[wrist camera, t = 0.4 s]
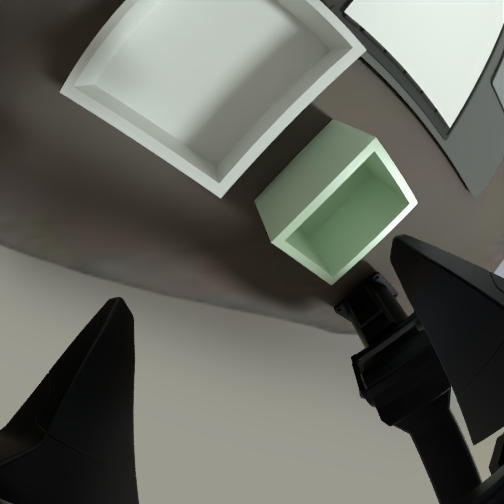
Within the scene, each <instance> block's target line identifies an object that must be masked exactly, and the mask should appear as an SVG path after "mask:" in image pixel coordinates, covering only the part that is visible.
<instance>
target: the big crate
mask: <svg viewBox="0 0 504 504" xmlns="http://www.w3.org/2000/svg"><path fill="white" fill-rule="evenodd" d="M365 51H367V50H366V49H365V47H364V46H363V45H362V44H361V43H360V42H359V40H358V39H357V38H356V37H355V36H354V35H353V34H352V32H351V31H350V30H349V29H348V28H347V27H346V26H345V25H344V24H343V23H342V22H341V21H340V20H339V19H338V18H337V17H336V16H335V15H334V14H333V13H332V12H331V11H330V10H329V9H328V8H327V7H326V6H325V5H324V4H323V3H322V2H321V1H320V0H125V1H124V3H123V4H122V5H121V6H120V7H119V8H118V9H117V10H116V12H115V13H114V14H113V15H112V16H111V17H110V19H109V20H108V21H107V22H106V24H105V25H104V26H103V27H102V29H101V30H100V31H99V32H98V34H97V35H96V36H95V38H94V39H93V40H92V42H91V43H90V45H89V46H88V47H87V49H86V50H85V52H84V53H83V55H82V56H81V58H80V59H79V61H78V62H77V64H76V65H75V67H74V68H73V70H72V72H71V73H70V75H69V77H68V78H67V80H66V82H65V83H64V85H63V87H62V89H61V90H60V93H62V94H63V95H65V96H66V97H68V98H70V99H71V100H73V101H75V102H76V103H78V104H79V105H81V106H83V107H84V108H86V109H87V110H89V111H90V112H92V113H94V114H95V115H97V116H98V117H100V118H101V119H103V120H105V121H106V122H108V123H109V124H111V125H112V126H114V127H115V128H117V129H119V130H120V131H122V132H123V133H125V134H126V135H128V136H129V137H131V138H132V139H134V140H135V141H137V142H138V143H140V144H141V145H143V146H144V147H146V148H147V149H149V150H150V151H152V152H153V153H155V154H156V155H158V156H159V157H161V158H162V159H164V160H165V161H167V162H168V163H170V164H171V165H173V166H174V167H176V168H177V169H179V170H180V171H182V172H183V173H185V174H186V175H187V176H189V177H190V178H192V179H193V180H195V181H196V182H198V183H199V184H201V185H202V186H203V187H205V188H206V189H208V190H209V191H211V192H212V193H214V194H215V195H216V196H218V197H219V198H222V196H223V195H224V194H225V193H226V192H227V191H228V190H229V188H230V187H231V186H232V185H233V184H234V183H235V182H236V181H237V179H238V178H239V177H240V176H241V175H242V174H243V173H244V172H245V171H246V169H247V168H248V167H249V166H250V165H251V164H252V163H253V162H254V161H255V160H256V158H257V157H258V156H259V155H260V154H261V153H262V152H263V151H264V150H265V149H266V148H267V147H268V146H269V145H270V143H271V142H272V141H273V140H274V139H275V138H276V137H277V136H278V135H279V134H280V133H281V132H282V131H283V130H284V129H285V128H286V127H287V126H288V125H289V124H290V123H291V122H292V121H293V120H294V119H295V118H296V117H297V116H298V115H299V114H300V113H301V112H302V111H303V110H304V109H305V108H306V107H307V106H308V105H309V104H310V103H311V102H312V101H313V100H314V99H315V98H316V97H317V96H318V95H319V94H320V93H321V92H322V91H323V90H324V89H325V88H326V87H327V86H328V85H329V84H330V83H331V82H332V81H334V80H335V79H336V78H337V77H338V76H339V75H340V74H341V73H342V72H343V71H344V70H345V69H346V68H348V67H349V66H350V65H351V64H352V63H353V62H354V61H355V60H356V59H358V58H359V57H360V56H361V55H362V54H363V53H364V52H365Z"/></svg>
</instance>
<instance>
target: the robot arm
mask: <svg viewBox="0 0 504 504" xmlns="http://www.w3.org/2000/svg"><path fill="white" fill-rule="evenodd" d="M390 260H391V264H392V266H393V268H394V270H395V272H396V274H397V276H398V278H399V280H400V282H401V285H402V287H403V289H404V291H405V293H406V295H407V298H408V300H409V301H410V303H411V305H412V307H413V309H414V310H415V311H414V313H412V314H411V315H410V316H409V317H408V316H407V314H406V313H405V312H404V310H403V309H402V307H401V306H400V304H399V303H398V301H397V300H396V297H397V296H398V292H397V291H396V290H395V289H394V288H393V287H392V286H391V284H390V283H389V282H388V281H387V280H386V279H385V278H384V277H383V276H382V275H381V274H380V273H379V272H374V273H373V274H372V275H371V276H370V277H369V278H367V279H366V280H365V281H364V282H363V283H362V284H361V285H359V286H358V287H357V288H356V289H355V290H354V291H353V292H351V293H350V294H349V295H348V296H347V297H345V298H344V299H343V300H342V301H341V302H340V303H338V304H337V305H336V306H335V307H334V310H335V312H336V313H337V314H339V315H341V316H342V317H344V318H346V319H347V320H349V321H351V322H352V324H353V326H354V328H355V330H356V332H357V333H358V335H359V337H360V339H361V341H362V343H363V345H364V347H365V349H364V350H362V351H361V352H359V353H358V354H355V355H353V356H352V357H351V359H352V366H353V369H354V373H355V376H356V380H357V383H358V387H359V394H360V396H361V398H363V399H366V400H367V402H368V403H369V404H370V405H371V406H372V407H376V409H377V411H378V413H379V416H380V418H381V420H382V421H383V422H384V423H386V424H387V425H388V426H393V425H394V426H395V427H397V428H399V429H401V430H403V431H405V432H407V433H409V434H410V436H411V437H412V440H413V442H414V444H415V446H416V448H417V451H418V453H419V455H420V457H421V460H422V462H423V464H424V466H425V469H426V471H427V474H428V476H429V478H430V481H431V483H432V486H433V488H434V491H435V493H436V496H437V498H438V500H439V503H440V504H504V432H503V433H502V434H501V435H500V436H499V437H498V438H497V440H496V444H495V448H494V452H493V455H492V458H491V461H490V465H489V470H490V472H491V476H490V477H489V478H488V479H486V480H485V481H484V482H482V480H481V477H480V474H479V472H478V469H477V466H476V464H475V461H474V459H473V456H472V454H471V452H470V449H469V447H468V445H467V443H466V440H465V438H464V436H463V433H462V431H461V429H460V427H459V425H458V423H457V421H456V419H455V417H454V415H453V412H452V411H451V409H450V393H451V386H452V388H453V391H454V393H455V395H456V398H457V401H458V403H459V406H460V409H461V411H462V414H463V416H464V419H465V422H466V425H467V428H468V431H469V434H470V437H471V440H472V443H473V445H475V444H477V443H479V442H481V441H482V440H484V439H485V438H487V437H489V436H490V435H492V434H493V433H495V432H496V431H498V430H499V429H501V428H502V427H504V278H502V277H500V276H498V275H496V274H494V273H492V272H489V271H488V270H486V269H483V268H481V267H479V266H477V265H475V264H473V263H471V262H469V261H466V260H464V259H462V258H460V257H458V256H455V255H453V254H451V253H449V252H446V251H444V250H442V249H440V248H437V247H435V246H432V245H430V244H428V243H425V242H423V241H421V240H418V239H416V238H413V237H411V236H408V235H406V234H402V235H398V236H395V237H394V238H393V242H392V248H391V254H390ZM134 373H135V346H134V318H133V315H132V313H131V311H130V310H129V308H128V307H127V305H126V303H125V301H124V300H123V299H122V298H121V297H116V298H112V299H109V300H108V301H107V302H106V303H105V305H104V306H103V307H102V308H101V309H100V310H99V311H98V313H97V314H96V315H95V316H94V317H93V318H92V319H91V321H90V322H89V323H88V324H87V325H86V326H85V328H84V329H83V330H82V331H81V332H80V333H79V335H78V336H77V337H76V338H75V340H74V341H73V342H72V343H71V344H70V346H69V347H68V348H67V349H66V351H65V352H64V353H63V354H62V356H61V357H60V358H59V359H58V361H57V362H56V363H55V364H54V366H53V367H52V368H51V370H50V371H49V373H48V374H47V375H46V376H45V377H44V379H43V380H42V382H41V383H40V384H39V385H38V387H37V388H36V389H35V391H34V392H33V393H32V394H31V395H30V397H29V398H28V399H27V401H26V402H25V403H24V404H23V405H22V406H21V408H20V409H19V410H18V411H17V413H16V414H15V415H14V416H13V418H12V419H11V420H10V421H9V423H8V424H7V425H6V426H5V427H4V428H3V429H1V430H0V504H139V500H138V491H137V481H136V476H135V475H136V471H135V455H134V423H133V404H134Z"/></svg>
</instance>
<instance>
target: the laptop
mask: <svg viewBox="0 0 504 504" xmlns="http://www.w3.org/2000/svg"><path fill="white" fill-rule="evenodd" d="M320 1H321V2H322V3H323V4H324V5H325V6H326V7H327V8H328V9H329V10H330V11H331V12H332V13H333V14H334V15H335V16H336V17H337V18H338V19H339V20H340V21H341V22H342V23H343V24H344V25H345V26H346V27H347V28H348V29H349V30H350V31H351V32H352V34H353V35H354V36H355V37H356V38H357V39H358V40H359V42H360V43H361V44H362V45H363V46H364V47H365V49H366V50H367V51H365V52H364V53H363V54H362V55H361V57H362V58H363V59H365V60H366V61H367V62H368V63H369V64H370V65H371V66H372V67H373V68H374V69H375V70H376V71H377V72H378V73H379V74H380V75H381V76H382V77H383V78H384V79H385V80H386V81H387V82H388V83H389V84H390V85H391V86H392V87H393V88H394V89H395V90H396V91H397V92H398V93H399V94H400V95H401V97H402V98H403V99H404V100H405V101H406V102H407V103H408V104H409V106H410V107H411V108H412V109H413V110H414V112H415V113H416V114H417V115H418V116H419V118H420V119H421V120H422V121H423V123H424V124H425V125H426V126H427V128H428V129H429V130H430V132H431V133H432V134H433V136H434V137H435V138H436V140H437V141H438V142H439V144H440V145H441V147H442V148H443V150H444V151H445V152H446V154H447V155H448V157H449V158H450V160H451V161H452V163H453V165H454V166H455V168H456V169H457V171H458V172H459V174H460V176H461V177H462V179H463V181H464V182H465V184H466V186H467V188H468V189H469V191H470V193H471V195H472V196H474V197H477V196H480V194H481V193H482V192H483V191H484V189H485V188H486V186H487V184H488V183H489V181H490V180H491V178H492V176H493V174H494V173H495V171H496V169H497V167H498V166H499V164H500V162H501V160H502V158H503V157H504V0H320Z"/></svg>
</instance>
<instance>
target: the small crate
mask: <svg viewBox="0 0 504 504" xmlns="http://www.w3.org/2000/svg"><path fill="white" fill-rule="evenodd" d="M254 202H255V204H256V207H257V209H258V212H259V214H260V216H261V219H262V221H263V224H264V226H265V229H266V231H267V234H268V236H269V239H270V241H271V243H272V244H274V245H275V246H277V247H278V248H280V249H281V250H282V251H284V252H285V253H287V254H288V255H289V256H291V257H292V258H294V259H295V260H297V261H298V262H299V263H301V264H302V265H304V266H305V267H306V268H308V269H309V270H311V271H312V272H313V273H315V274H316V275H318V276H319V277H320V278H322V279H323V280H324V281H326V282H327V283H329V284H330V285H332V284H334V283H335V282H336V281H337V280H338V279H339V278H340V277H342V276H343V275H344V274H345V273H346V272H347V271H348V270H349V269H351V268H352V267H353V266H354V265H355V264H356V263H357V262H358V261H359V260H360V259H361V258H363V257H364V256H365V255H366V254H367V253H368V252H369V251H370V250H371V249H372V248H373V247H374V246H375V245H376V244H377V243H379V242H380V241H381V240H382V239H383V238H384V237H385V236H386V235H387V234H388V233H389V232H390V231H391V230H392V229H393V228H394V227H395V226H396V225H397V224H398V223H399V222H400V221H401V220H402V219H403V218H404V217H405V216H406V215H407V214H408V213H409V212H410V211H411V210H412V209H413V208H414V207H415V206H416V204H417V203H418V202H417V200H416V198H415V197H414V195H413V193H412V192H411V190H410V188H409V187H408V185H407V183H406V182H405V180H404V178H403V177H402V175H401V174H400V172H399V170H398V169H397V167H396V166H395V164H394V163H393V161H392V160H391V158H390V157H389V155H388V154H387V152H386V151H385V150H384V148H383V147H382V145H381V144H380V142H379V141H378V140H377V138H376V137H374V136H372V135H370V134H367V133H365V132H363V131H361V130H358V129H356V128H354V127H351V126H349V125H346V124H344V123H341V122H339V121H336V120H334V119H332V120H331V121H330V122H329V123H328V124H327V125H326V126H325V127H324V128H323V129H322V130H321V131H320V132H319V133H318V134H317V135H316V137H315V138H314V139H313V140H312V141H311V142H310V143H309V144H308V145H307V146H306V147H305V148H304V149H303V150H302V151H301V152H300V153H299V154H298V155H297V156H296V157H295V158H294V159H293V160H292V161H291V162H290V163H289V164H288V165H287V166H286V167H285V168H284V169H283V170H282V171H281V173H280V174H279V175H278V176H277V177H276V178H275V179H274V180H273V181H272V182H271V183H270V184H269V185H268V186H267V187H266V188H265V189H264V190H263V192H262V193H261V194H260V195H259V196H258V197H257V198H256V199H255V200H254Z"/></svg>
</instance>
